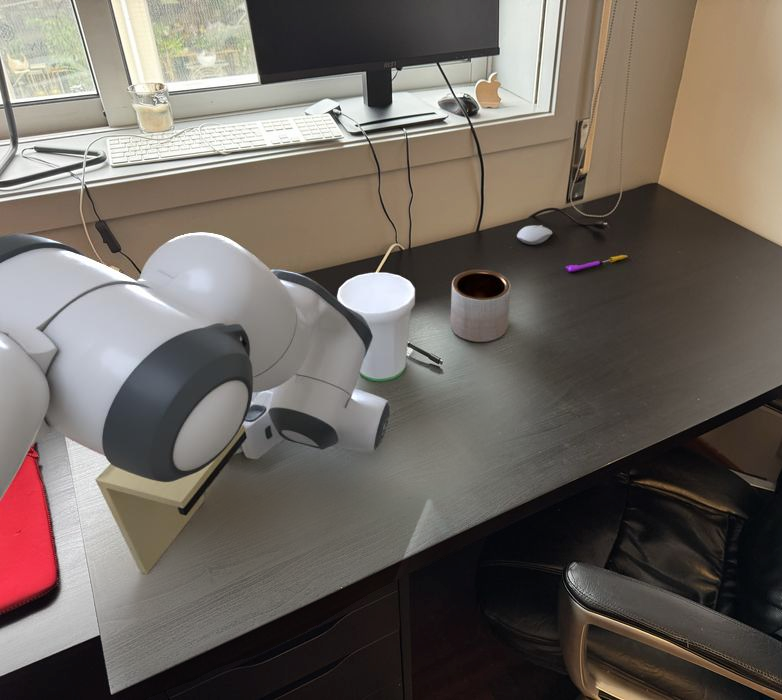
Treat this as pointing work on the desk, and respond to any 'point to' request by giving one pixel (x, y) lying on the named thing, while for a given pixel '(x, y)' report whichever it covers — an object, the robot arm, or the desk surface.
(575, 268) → the purple screwdriver
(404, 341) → the cup
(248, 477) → the desk surface
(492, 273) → the planter
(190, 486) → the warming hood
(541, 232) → the computer mouse
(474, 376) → the desk surface
